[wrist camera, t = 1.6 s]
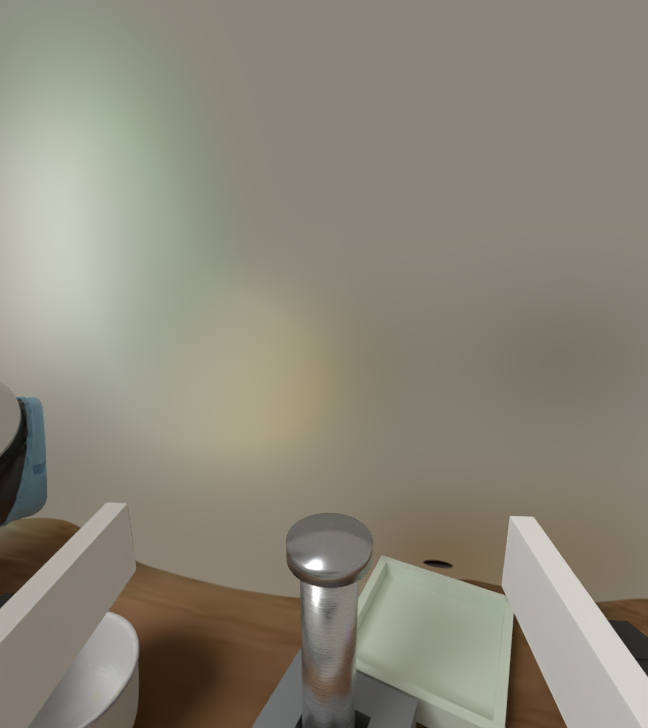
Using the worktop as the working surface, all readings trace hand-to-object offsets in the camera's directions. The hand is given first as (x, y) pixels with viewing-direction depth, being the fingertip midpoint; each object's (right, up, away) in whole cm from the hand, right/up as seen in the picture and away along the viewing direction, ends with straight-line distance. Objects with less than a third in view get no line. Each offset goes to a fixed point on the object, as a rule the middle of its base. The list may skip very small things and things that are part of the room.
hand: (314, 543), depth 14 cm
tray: (+10, -21, +25) cm, 34 cm away
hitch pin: (+1, -23, +16) cm, 28 cm away
